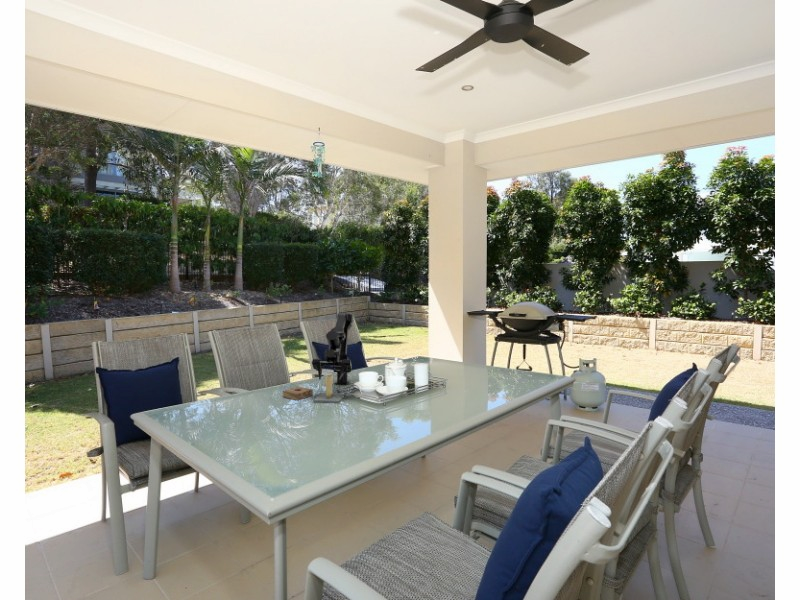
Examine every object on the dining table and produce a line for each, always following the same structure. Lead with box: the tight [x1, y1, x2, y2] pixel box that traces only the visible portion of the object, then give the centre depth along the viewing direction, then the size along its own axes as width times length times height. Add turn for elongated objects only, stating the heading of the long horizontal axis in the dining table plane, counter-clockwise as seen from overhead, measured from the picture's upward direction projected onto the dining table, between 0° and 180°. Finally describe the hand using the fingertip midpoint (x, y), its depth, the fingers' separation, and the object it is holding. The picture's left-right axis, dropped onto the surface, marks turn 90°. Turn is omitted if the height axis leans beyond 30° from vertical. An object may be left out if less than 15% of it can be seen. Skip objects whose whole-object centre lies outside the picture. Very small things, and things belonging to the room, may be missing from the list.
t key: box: [324, 374, 334, 398], centre depth 218 cm, size 5×2×10 cm, turn 177°
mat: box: [313, 392, 345, 404], centre depth 218 cm, size 12×12×1 cm
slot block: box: [282, 386, 314, 401], centre depth 223 cm, size 10×10×3 cm
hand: (329, 379), depth 218 cm, fingers open, 9 cm apart
